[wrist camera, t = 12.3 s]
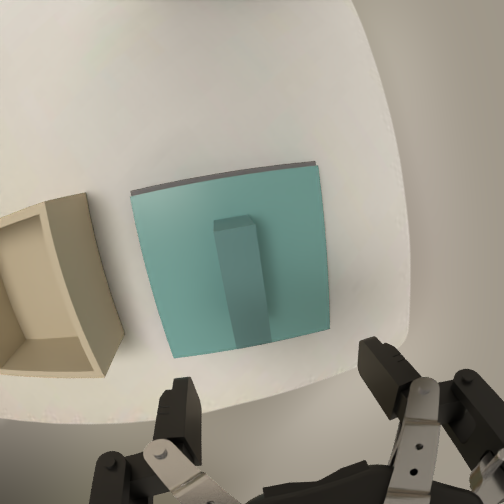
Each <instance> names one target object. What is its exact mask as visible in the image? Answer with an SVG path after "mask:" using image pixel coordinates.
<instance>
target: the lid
mask: <svg viewBox="0 0 504 504" xmlns="http://www.w3.org/2000/svg"><path fill="white" fill-rule="evenodd" d="M130 199H131V204H132V209H133V214H134V219H135V224H136V228H137V233H138V237H139V242H140V246H141V250H142V254H143V258H144V262H145V266H146V270H147V274H148V277H149V281H150V285H151V288H152V292H153V295H154V299H155V302H156V305H157V309H158V312H159V315H160V318H161V322H162V325H163V328H164V331H165V334H166V337H167V340H168V343H169V346H170V349H171V352H172V354H173V357H174V358H181V357H188V356H196V355H202V354H209V353H216V352H222V351H228V350H234V349H240V348H246V347H251V346H256V345H261V344H266V343H271V342H275V341H280V340H285V339H289V338H294V337H298V336H303V335H307V334H311V333H315V332H319V331H323V330H327V329H330V314H329V287H328V267H327V252H326V238H325V226H324V215H323V204H322V195H321V186H320V177H319V169H318V166H307V167H298V168H289V169H281V170H273V171H266V172H258V173H251V174H245V175H238V176H232V177H226V178H220V179H214V180H208V181H202V182H197V183H192V184H186V185H181V186H176V187H171V188H166V189H162V190H157V191H152V192H148V193H143V194H139V195H135V196H131V197H130Z"/></svg>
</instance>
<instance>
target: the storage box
mask: <svg viewBox="0 0 504 504" xmlns="http://www.w3.org/2000/svg"><path fill="white" fill-rule="evenodd" d="M124 335H125V333H124V330H123V327H122V325H121V322H120V319H119V316H118V314H117V311H116V308H115V305H114V302H113V299H112V296H111V293H110V290H109V286H108V283H107V280H106V277H105V273H104V270H103V266H102V263H101V259H100V255H99V251H98V247H97V244H96V239H95V235H94V231H93V227H92V222H91V218H90V213H89V208H88V203H87V197H86V193H81V194H76V195H71V196H66V197H62V198H57V199H53V200H49V201H45V202H42V203H39V204H36V205H33V206H30V207H28V208H25V209H22V210H20V211H17V212H14V213H12V214H9V215H7V216H4V217H2V218H0V374H2V375H12V376H25V377H44V378H105V376H106V374H107V371H108V369H109V367H110V365H111V362H112V360H113V358H114V356H115V354H116V352H117V349H118V347H119V345H120V343H121V341H122V339H123V337H124Z"/></svg>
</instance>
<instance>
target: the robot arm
mask: <svg viewBox="0 0 504 504" xmlns="http://www.w3.org/2000/svg"><path fill="white" fill-rule="evenodd" d="M358 371H359V373H360V376H361V377H362V379H363V380H364V382H365V383H366V385H367V386H368V388H369V389H370V391H371V392H372V394H373V396H374V397H375V398H376V400H377V402H378V403H379V405H380V406H381V408H382V409H383V411H384V412H385V414H386V416H387V417H388V419H389V420H392V419H394V418H397V417H398V418H399V420H400V422H399V425H398V430H397V434H396V438H395V442H394V446H393V450H392V453H391V456H390V460H389V462H388V465H368V464H367V462H366V461H365V460H363V461H361V462H358V463H355V464H353V465H350V466H347V467H344V468H341V469H340V470H338V471H336V472H334V473H332V474H331V475H329V476H327V477H325V478H323V479H321V480H319V481H316V482H297V483H285V484H280V485H275V486H270V487H264V488H263V492H264V494H261V495H259V496H257V497H255V498H253V499H251V500H250V501H248V502H247V503H246V504H499V503H502V502H504V401H503V400H502V399H501V398H500V397H499V396H498V395H497V394H496V393H495V391H494V390H493V389H491V387H490V386H489V385H488V384H487V383H486V382H485V381H484V380H483V379H482V378H481V376H480V375H479V374H478V373H477V372H475V371H473V370H470V369H463V370H460V371H458V372H457V373H456V374H455V376H454V379H453V380H450V381H445V382H439V383H437V382H436V381H435V380H434V379H432V378H429V377H421V376H420V374H419V373H418V372H417V371H416V370H415V369H414V368H413V367H412V365H411V364H410V363H409V362H408V361H407V360H405V358H404V357H403V356H402V355H401V353H400V352H399V351H398V350H397V349H396V348H395V347H394V346H392V345H390V344H388V343H384V344H382V343H381V342H380V341H379V340H378V339H377V338H376V337H375V336H373V337H370V338H367V339H364V340H361V341H360V342H359V352H358ZM158 407H159V408H158V412H157V417H156V424H155V430H154V436H153V441H152V442H150V443H149V444H148V445H147V446H146V447H145V449H144V451H143V452H141V453H138V454H134V455H130V456H126V457H124V456H123V455H122V454H120V453H119V452H115V451H110V452H106V453H104V454H102V455H101V456H100V457H99V458H98V460H97V462H96V467H95V472H94V477H93V483H92V489H91V495H90V502H89V504H153V496H154V495H157V494H161V493H165V492H169V491H171V493H172V494H173V495H174V496H175V497H176V498H177V499H178V501H179V502H180V503H181V504H241V503H240V502H238V501H237V500H236V499H235V498H234V497H232V496H231V495H230V494H229V493H227V492H226V491H225V490H224V489H223V488H222V487H220V486H219V485H218V484H217V483H216V482H215V481H213V479H211V478H210V477H209V476H208V475H207V474H206V473H204V472H201V471H200V470H199V469H198V468H197V467H196V466H201V465H202V462H201V461H202V459H201V458H202V456H201V412H202V411H201V403H200V399H199V397H198V394H197V392H196V389H195V387H194V384H193V381H192V379H191V377H183V378H175V379H174V381H173V388H172V390H165V391H164V393H163V394H162V396H161V397H160V400H159V406H158ZM440 425H442V426H443V428H444V429H445V431H446V432H447V434H448V435H449V437H450V438H451V440H452V441H453V443H454V444H455V446H456V447H457V449H458V450H459V452H460V453H461V455H462V457H463V458H464V460H465V461H466V463H467V465H468V466H469V468H470V469H471V471H472V472H471V474H470V478H469V481H470V488H471V490H472V491H469V490H465V489H462V488H457V487H454V486H450V485H447V484H443V483H440V482H436V481H433V475H434V469H435V463H436V457H437V451H438V443H439V435H440Z"/></svg>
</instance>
